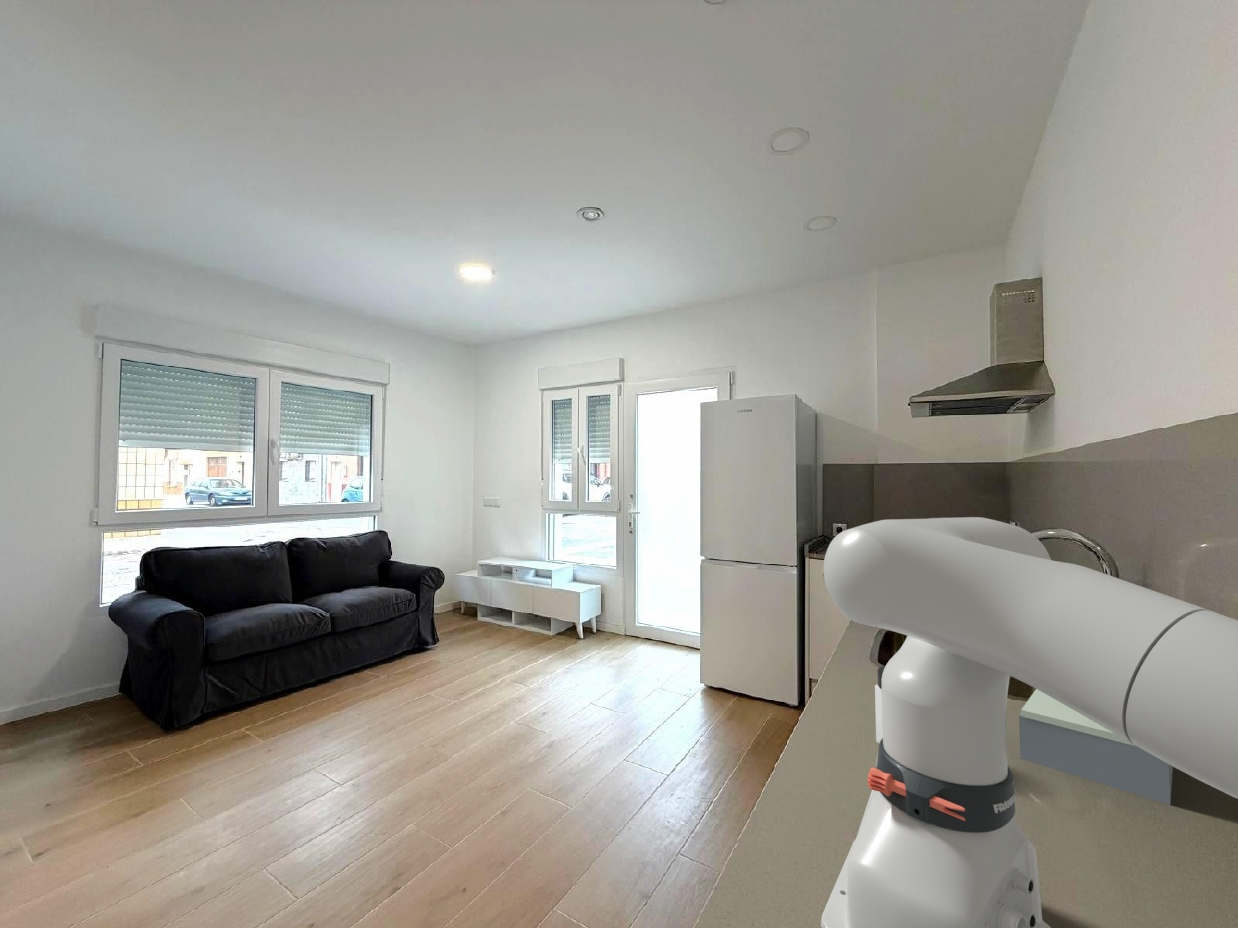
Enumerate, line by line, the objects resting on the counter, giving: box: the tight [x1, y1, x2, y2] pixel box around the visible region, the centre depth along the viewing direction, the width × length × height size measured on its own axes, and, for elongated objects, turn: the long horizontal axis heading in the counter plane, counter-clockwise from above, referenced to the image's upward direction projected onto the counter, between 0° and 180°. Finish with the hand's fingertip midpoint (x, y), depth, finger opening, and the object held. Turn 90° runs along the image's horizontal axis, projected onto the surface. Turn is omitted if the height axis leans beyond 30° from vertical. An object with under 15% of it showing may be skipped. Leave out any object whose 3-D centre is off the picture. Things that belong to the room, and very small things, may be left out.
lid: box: [1020, 688, 1136, 746], centre depth 80 cm, size 16×16×15 cm
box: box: [1018, 712, 1174, 806], centre depth 80 cm, size 16×16×7 cm
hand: (1216, 681), depth 70 cm, fingers open, 8 cm apart
